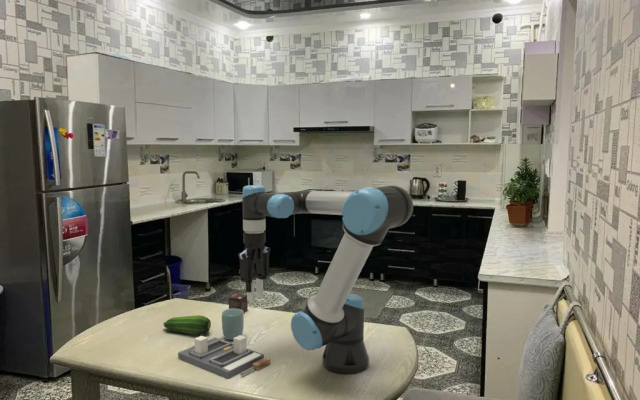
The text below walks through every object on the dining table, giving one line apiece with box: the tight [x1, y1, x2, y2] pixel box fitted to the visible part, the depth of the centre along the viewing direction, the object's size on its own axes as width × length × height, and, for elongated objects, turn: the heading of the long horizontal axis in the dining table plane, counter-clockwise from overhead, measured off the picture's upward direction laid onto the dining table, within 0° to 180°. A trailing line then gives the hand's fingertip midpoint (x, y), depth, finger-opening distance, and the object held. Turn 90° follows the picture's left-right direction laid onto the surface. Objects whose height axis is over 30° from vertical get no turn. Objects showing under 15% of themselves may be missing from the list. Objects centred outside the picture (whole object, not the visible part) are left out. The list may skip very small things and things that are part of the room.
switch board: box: [177, 337, 265, 380], centre depth 161 cm, size 24×16×3 cm, turn 54°
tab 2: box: [233, 335, 248, 355], centre depth 161 cm, size 3×3×5 cm
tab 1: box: [193, 335, 209, 355], centre depth 160 cm, size 3×3×5 cm
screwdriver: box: [239, 356, 271, 377], centre depth 153 cm, size 12×2×2 cm, turn 143°
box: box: [228, 292, 249, 314], centre depth 207 cm, size 6×6×7 cm
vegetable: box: [163, 314, 212, 336], centre depth 184 cm, size 7×7×20 cm
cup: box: [221, 308, 245, 341], centre depth 179 cm, size 8×8×10 cm
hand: (255, 299), depth 165 cm, fingers open, 4 cm apart
